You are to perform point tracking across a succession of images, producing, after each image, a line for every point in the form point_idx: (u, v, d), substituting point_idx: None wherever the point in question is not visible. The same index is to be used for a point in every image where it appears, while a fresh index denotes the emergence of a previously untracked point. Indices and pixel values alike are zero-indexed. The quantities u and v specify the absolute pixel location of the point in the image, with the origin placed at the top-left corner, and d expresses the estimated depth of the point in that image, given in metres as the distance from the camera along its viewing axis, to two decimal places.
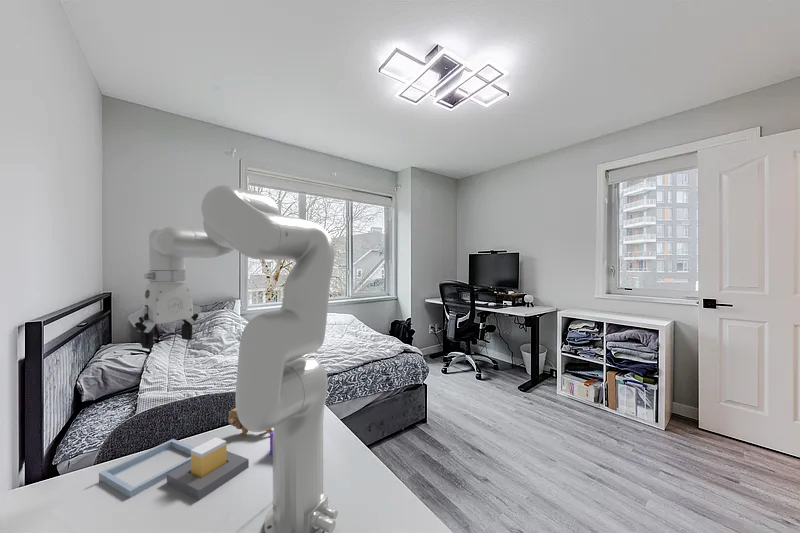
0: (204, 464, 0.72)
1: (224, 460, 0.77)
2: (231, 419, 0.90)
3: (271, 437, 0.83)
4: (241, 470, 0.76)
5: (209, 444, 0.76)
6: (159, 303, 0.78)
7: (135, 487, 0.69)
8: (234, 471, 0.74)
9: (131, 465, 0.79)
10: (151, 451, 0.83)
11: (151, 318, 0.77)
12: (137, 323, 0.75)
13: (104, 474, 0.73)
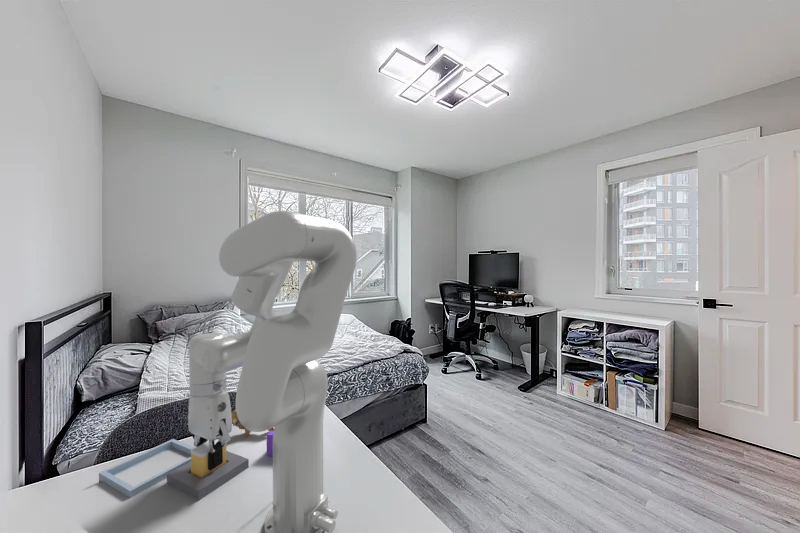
0: (204, 464, 0.72)
1: (224, 460, 0.77)
2: (234, 419, 0.90)
3: (268, 438, 0.83)
4: (241, 470, 0.76)
5: None
6: None
7: (135, 487, 0.69)
8: (234, 471, 0.74)
9: (131, 465, 0.79)
10: (151, 451, 0.83)
11: (230, 428, 0.75)
12: None
13: (104, 474, 0.73)
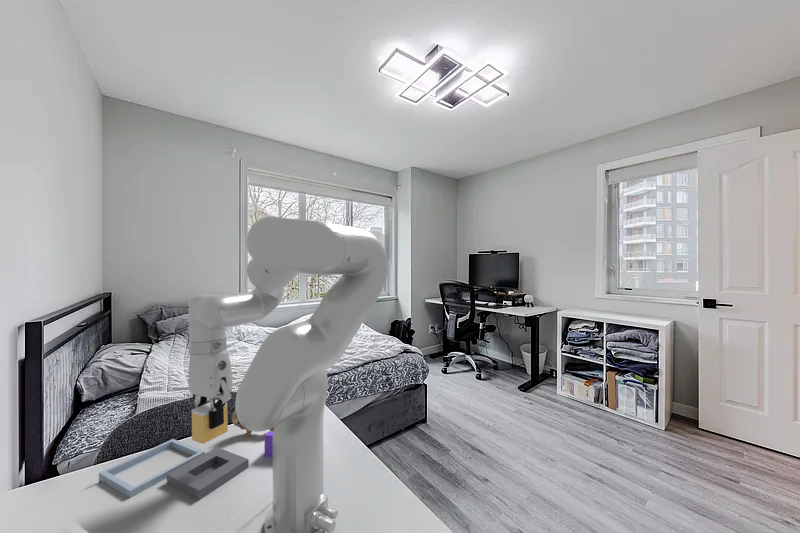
0: (205, 423, 0.72)
1: (225, 421, 0.76)
2: (235, 419, 0.90)
3: (265, 439, 0.82)
4: (241, 470, 0.76)
5: None
6: None
7: (135, 487, 0.69)
8: (234, 471, 0.74)
9: (131, 465, 0.79)
10: (151, 451, 0.83)
11: (231, 387, 0.75)
12: None
13: (104, 474, 0.73)
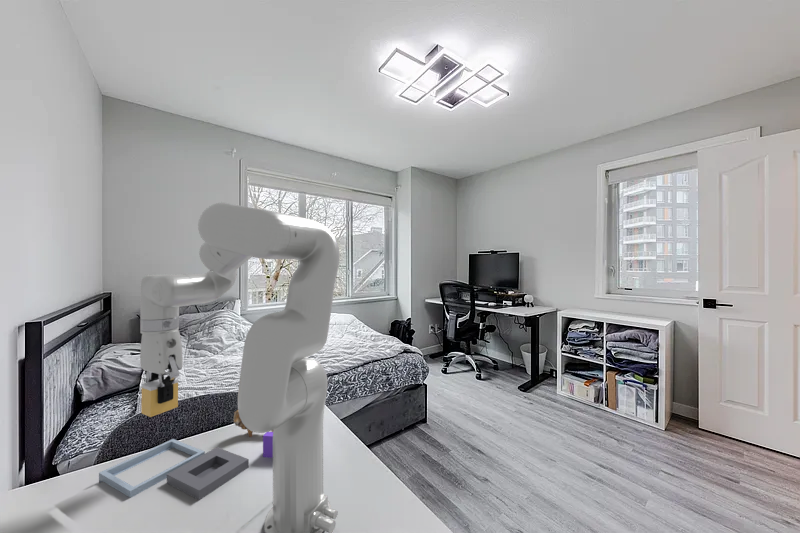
0: (154, 397, 0.75)
1: (175, 397, 0.79)
2: (237, 419, 0.90)
3: (264, 439, 0.82)
4: (241, 470, 0.76)
5: None
6: None
7: (135, 487, 0.69)
8: (234, 471, 0.74)
9: (131, 465, 0.79)
10: (151, 451, 0.83)
11: (181, 365, 0.77)
12: None
13: (104, 474, 0.73)
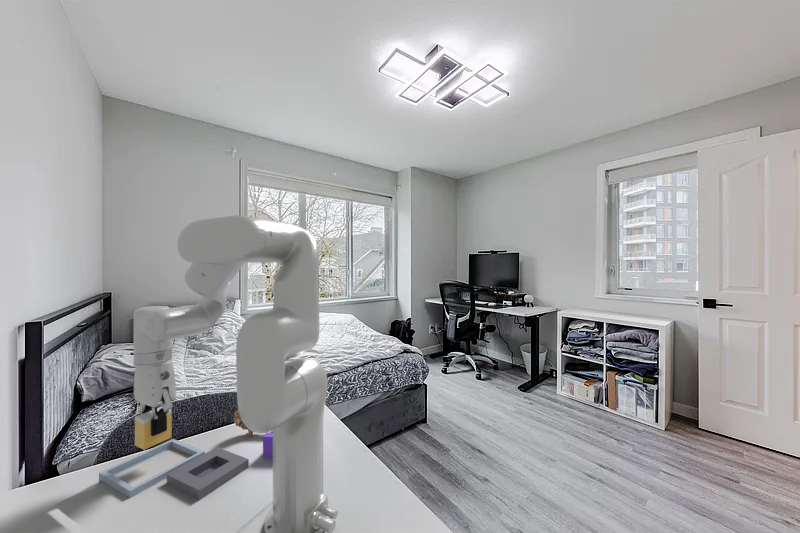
0: (147, 430, 0.75)
1: (169, 428, 0.80)
2: (237, 420, 0.90)
3: (264, 440, 0.82)
4: (241, 470, 0.76)
5: None
6: None
7: (135, 487, 0.69)
8: (234, 471, 0.74)
9: (131, 465, 0.79)
10: (151, 451, 0.83)
11: (174, 397, 0.78)
12: None
13: (104, 474, 0.73)
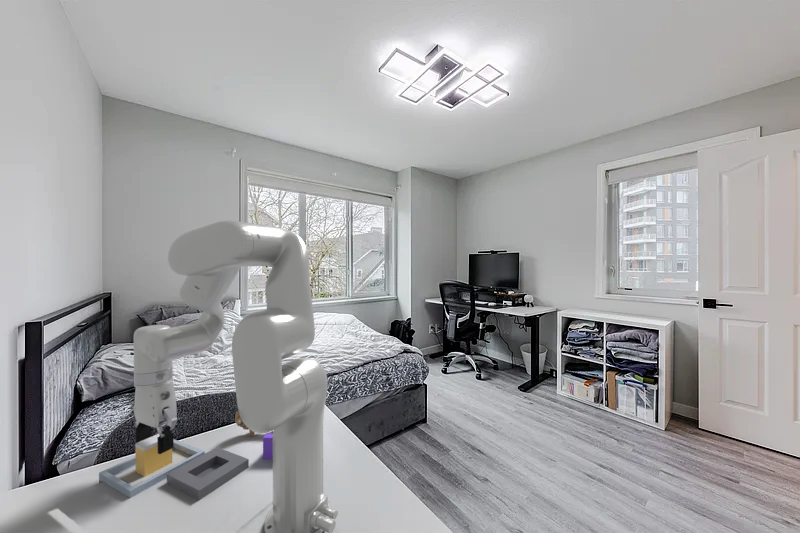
0: (147, 457, 0.75)
1: (170, 454, 0.80)
2: (239, 420, 0.90)
3: (264, 441, 0.81)
4: (241, 470, 0.76)
5: (155, 438, 0.79)
6: None
7: (135, 487, 0.69)
8: (234, 471, 0.74)
9: (131, 465, 0.79)
10: None
11: (175, 416, 0.78)
12: None
13: (104, 474, 0.73)
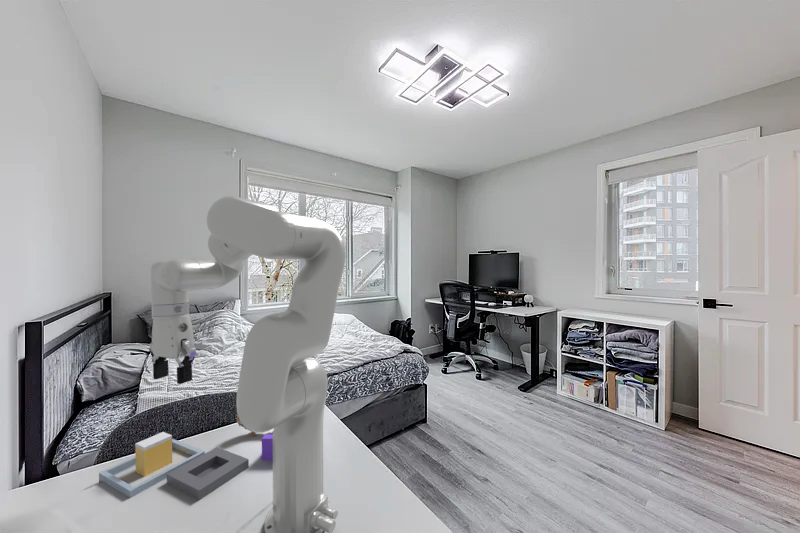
0: (147, 457, 0.75)
1: (170, 454, 0.80)
2: None
3: (263, 442, 0.81)
4: (241, 470, 0.76)
5: (155, 438, 0.79)
6: None
7: (135, 487, 0.69)
8: (234, 471, 0.74)
9: (131, 465, 0.79)
10: None
11: None
12: None
13: (104, 474, 0.73)
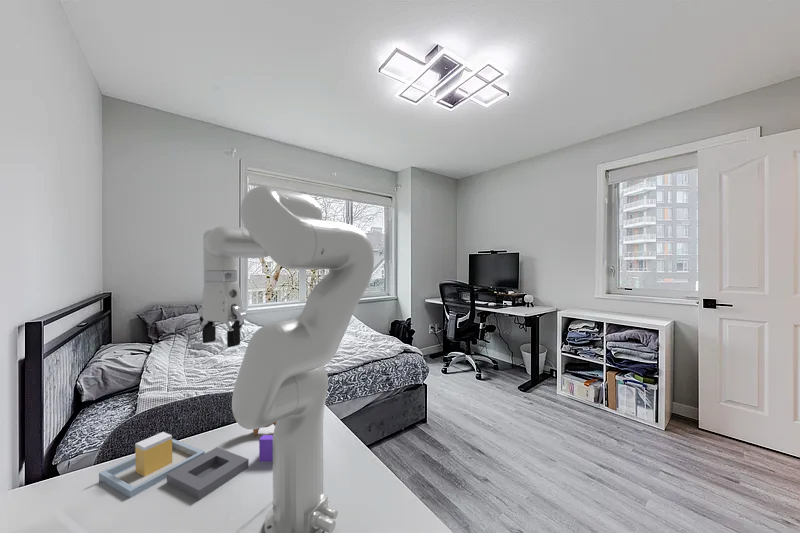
0: (147, 457, 0.75)
1: (170, 454, 0.80)
2: None
3: (260, 443, 0.80)
4: (241, 470, 0.76)
5: (155, 438, 0.79)
6: None
7: (135, 487, 0.69)
8: (234, 471, 0.74)
9: (131, 465, 0.79)
10: None
11: None
12: None
13: (104, 474, 0.73)
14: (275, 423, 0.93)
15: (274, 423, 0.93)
